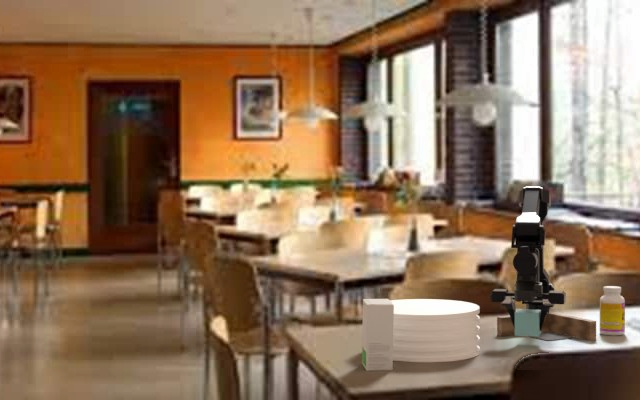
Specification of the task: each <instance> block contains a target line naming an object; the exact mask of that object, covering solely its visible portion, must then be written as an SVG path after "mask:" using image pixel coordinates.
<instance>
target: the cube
mask: <svg viewBox="0 0 640 400" xmlns="http://www.w3.org/2000/svg"><path fill="white" fill-rule="evenodd" d="M540 316H541V310H534V309H526V308H517V309H516V311H515V335H514V336H515V337H517V336H518V337H529V336H534V337H539V335H541V334H542V332H541V331H540V326H539V324H540Z"/></svg>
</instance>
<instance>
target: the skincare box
mask: <svg viewBox="0 0 640 400" xmlns="http://www.w3.org/2000/svg"><path fill="white" fill-rule="evenodd" d="M390 300H391V299H389V298H363V299H362V328H361V329H362V330H361V331H362V332H361V333H362V337H361V339H362V340H361V341H362V342H361V343H362V344H361V364H362V366H363V368H364V369H365V371H366V372H374V371H375V372H376V371H377V372H380V371H383V372H384V371H393V366H394V365H393V363H394V360H393V321H394V305H393V304H392V301H390Z"/></svg>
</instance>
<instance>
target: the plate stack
mask: <svg viewBox="0 0 640 400" xmlns="http://www.w3.org/2000/svg"><path fill="white" fill-rule="evenodd" d="M389 300H390V301H392V304H393V305H394V321H393V361H396V362H398V361H399V362H410V363H440V362H441V363H442V362H454V361H455V362H456V361H463V360H467V359H468V360H469V359H472V358H475V357H476V356H477V357H478V355H480V352H481V348H480V346H479V345H480V343H481V337H480V336H479V334H480V333H481V329H480V327H481V326H480V325H479V324H480V322H481V320H480V318H481V317H480V315H479V314H480V311H481V310H480V309H481V307H480V305H478V304H476V303H473V302H468V301H462V300H455V299H454V300H453V299H442V298H441V299H439V298H438V299H437V298H436V299H435V298H433V299H432V298H409V299H408V298H406V299H405V298H404V299H393V300H391V299H389Z"/></svg>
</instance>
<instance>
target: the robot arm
mask: <svg viewBox="0 0 640 400" xmlns="http://www.w3.org/2000/svg"><path fill="white" fill-rule="evenodd" d="M551 200H552V196H551V192H550V190H548V189H544V188H543V187H541V186H540V185H539V186H537V185H536V186H532V185H531V186H528V185H527V186H525V187H523V189H521V190H519V191H518V205H519V208H521V215H518V216H517V217H516V219H515V223H514V224H513V225H512V232H511V247H510V248H511V249H517V250H516V254H515V255H514V256H513V260H512V265H513V268H514V270H515V271H516V280H515V284H514V292H513V291H512V292H509V289H507V288H494V289H493V290H492V291H491V292H490V293H489V301H490V303H500V306H503V307H505V308H506V310H507V312H508V316H510V317H511V320H512V323H513V326H514V329H515V311H516V310H517V309H516V302H519V303H521V304H522V305H525V306H526V307H525V309H534V310H541V316H540V324H539V326H540V331H541V330H542V327H543V324H544V321H545V318H546V315H547V313H548V312H549V313H550V308H553V307H555V306H556V305H565V303H566V302H567V293H566V292H565V291H564V290H555V288H554V286H553V283H551V282H550V281H551V279H550V277H551V276H550V275H549V273H548V272H547V270H546V268H545V259H544V256H545V255H544V254H545V253H544V252H545V251H544V250H545V249H544V246H545V244H546V229H545V226H544V221H545V219H546V217H547V216H548V214H549V208H550V207H551V206H552V205H551V204H552V203H551V202H552V201H551Z"/></svg>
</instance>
